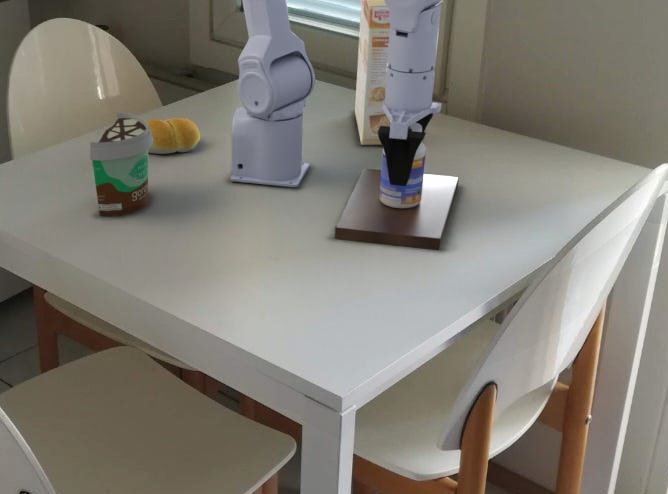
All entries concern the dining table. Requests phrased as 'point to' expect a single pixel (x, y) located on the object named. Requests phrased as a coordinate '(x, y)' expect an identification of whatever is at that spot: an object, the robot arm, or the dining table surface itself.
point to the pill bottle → (413, 189)
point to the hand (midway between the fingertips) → (402, 175)
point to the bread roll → (173, 135)
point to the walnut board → (398, 213)
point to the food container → (122, 165)
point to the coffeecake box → (372, 70)
